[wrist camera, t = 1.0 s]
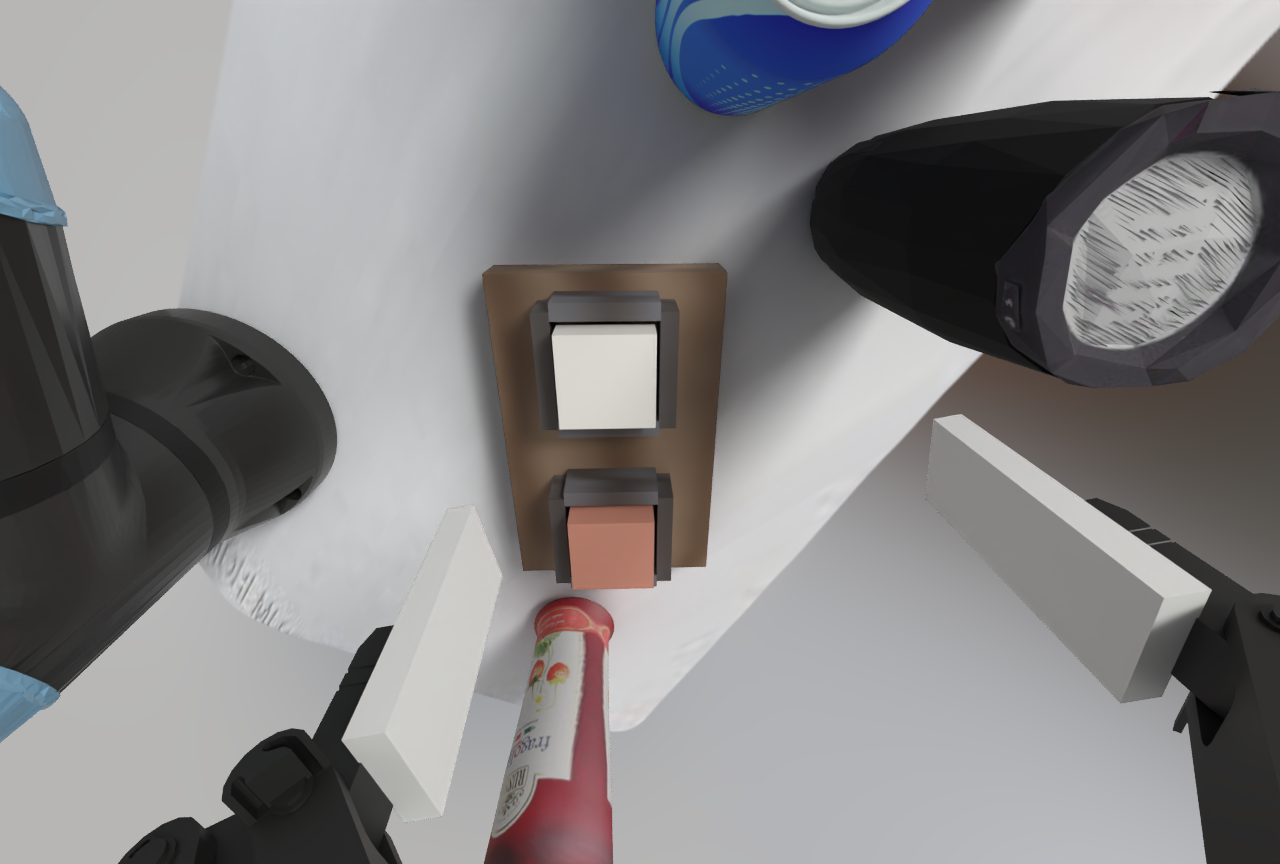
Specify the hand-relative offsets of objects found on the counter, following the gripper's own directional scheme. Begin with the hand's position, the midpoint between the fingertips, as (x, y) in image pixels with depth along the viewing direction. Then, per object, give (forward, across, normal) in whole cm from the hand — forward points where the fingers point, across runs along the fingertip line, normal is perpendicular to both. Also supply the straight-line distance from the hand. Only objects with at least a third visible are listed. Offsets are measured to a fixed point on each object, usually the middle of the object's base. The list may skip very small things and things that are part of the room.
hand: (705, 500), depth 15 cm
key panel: (+21, -4, -7) cm, 23 cm away
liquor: (+21, -11, -25) cm, 35 cm away
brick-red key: (+16, -5, -13) cm, 21 cm away
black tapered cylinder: (+21, +14, +4) cm, 26 cm away
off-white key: (+16, -3, -1) cm, 16 cm away
